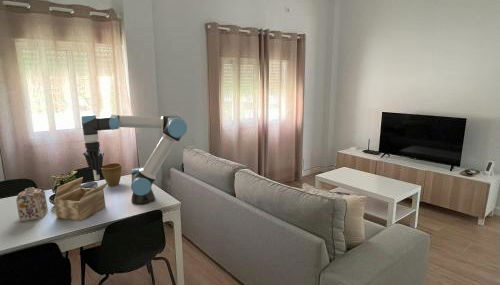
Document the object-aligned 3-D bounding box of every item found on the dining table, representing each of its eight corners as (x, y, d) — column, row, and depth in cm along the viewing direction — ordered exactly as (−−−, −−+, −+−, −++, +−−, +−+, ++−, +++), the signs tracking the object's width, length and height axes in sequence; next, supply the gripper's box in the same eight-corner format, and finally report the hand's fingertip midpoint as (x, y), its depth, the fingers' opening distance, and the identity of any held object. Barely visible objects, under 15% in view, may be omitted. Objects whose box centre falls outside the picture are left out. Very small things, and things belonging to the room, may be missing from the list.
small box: (88, 201, 207) (86, 186, 205) (80, 200, 209) (78, 186, 206) (99, 195, 217) (97, 181, 215) (91, 195, 219) (89, 181, 217)
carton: (106, 206, 198) (104, 189, 195) (80, 221, 178) (78, 202, 175) (83, 204, 202) (81, 187, 200) (56, 218, 182) (53, 199, 180)
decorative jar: (41, 219, 182) (37, 190, 178) (19, 221, 179) (13, 193, 175) (48, 211, 193) (44, 184, 189) (27, 213, 190) (22, 186, 186)
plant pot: (106, 182, 245) (104, 163, 241) (126, 181, 246) (124, 162, 243) (100, 189, 230) (97, 168, 227) (120, 188, 232) (118, 168, 229)
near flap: (102, 189, 194) (102, 189, 194) (79, 200, 176) (79, 201, 176) (109, 181, 191) (109, 182, 191) (86, 192, 174) (86, 192, 174)
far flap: (55, 198, 181) (54, 198, 181) (80, 187, 198) (79, 187, 198) (58, 187, 178) (57, 187, 178) (82, 177, 196) (82, 177, 196)
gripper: (105, 140, 179) (110, 178, 184) (87, 139, 182) (92, 177, 187) (96, 142, 172) (101, 182, 177) (77, 142, 175) (83, 181, 180)
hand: (97, 179), depth 182 cm, fingers closed
